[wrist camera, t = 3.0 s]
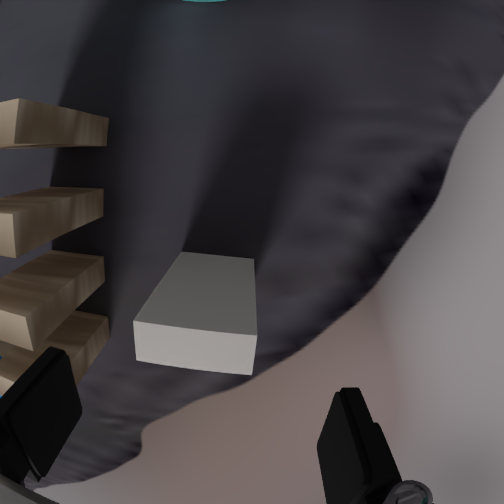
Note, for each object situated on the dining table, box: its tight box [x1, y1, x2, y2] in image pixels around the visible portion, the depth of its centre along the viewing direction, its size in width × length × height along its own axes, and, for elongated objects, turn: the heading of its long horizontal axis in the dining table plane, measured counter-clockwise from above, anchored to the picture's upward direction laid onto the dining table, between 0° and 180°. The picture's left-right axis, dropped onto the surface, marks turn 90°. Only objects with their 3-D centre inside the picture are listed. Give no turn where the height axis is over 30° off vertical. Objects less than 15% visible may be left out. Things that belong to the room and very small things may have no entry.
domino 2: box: [0, 187, 104, 258], centre depth 16 cm, size 2×5×10 cm, turn 84°
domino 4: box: [0, 310, 110, 396], centre depth 18 cm, size 2×5×10 cm, turn 84°
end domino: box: [133, 252, 257, 375], centre depth 17 cm, size 2×5×10 cm, turn 84°
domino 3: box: [0, 250, 105, 351], centre depth 17 cm, size 2×5×10 cm, turn 84°
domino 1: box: [0, 98, 109, 149], centre depth 14 cm, size 2×5×10 cm, turn 84°
